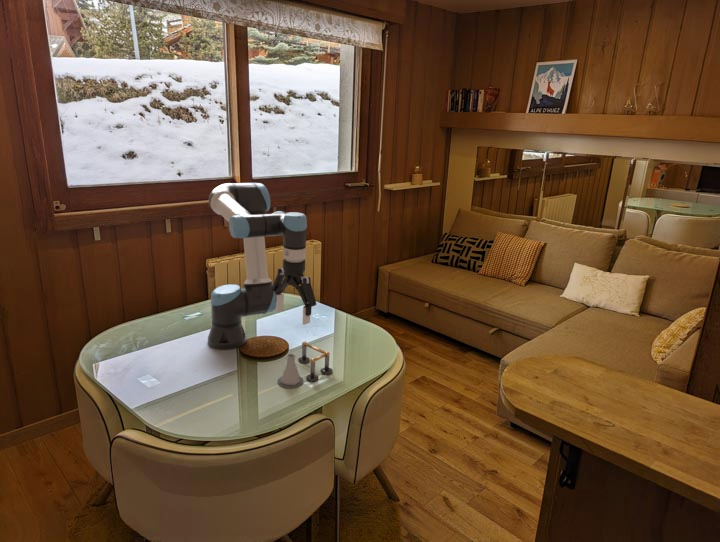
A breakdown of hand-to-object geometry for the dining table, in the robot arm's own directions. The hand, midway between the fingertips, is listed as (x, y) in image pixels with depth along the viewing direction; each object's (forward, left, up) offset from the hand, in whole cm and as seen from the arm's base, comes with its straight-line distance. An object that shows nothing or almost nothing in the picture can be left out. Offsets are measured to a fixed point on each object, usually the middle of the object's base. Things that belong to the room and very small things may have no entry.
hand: (292, 317), depth 172 cm
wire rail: (0, +8, -23) cm, 25 cm away
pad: (+2, -3, -23) cm, 24 cm away
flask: (+2, -3, -23) cm, 23 cm away
